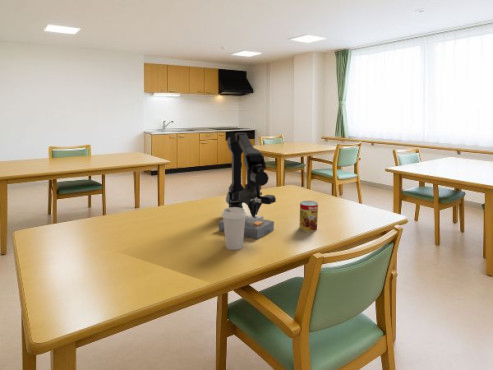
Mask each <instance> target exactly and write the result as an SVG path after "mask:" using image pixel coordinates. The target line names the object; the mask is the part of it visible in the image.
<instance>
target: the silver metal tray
mask: <svg viewBox="0 0 493 370" xmlns="http://www.w3.org/2000/svg"><path fill="white" fill-rule="evenodd" d="M274 230H275V221H274V220H269V219H264V218H263V219H261V220H254V219H245V226H244V237H246V238H251V239H253V240H258V239H260V238H262V237H264V236H265V235H268V234H269V233H271V232H273V231H274ZM218 231H221V232H224V233H225V231H224V221H223V219H221V220H220V221H218Z"/></svg>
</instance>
